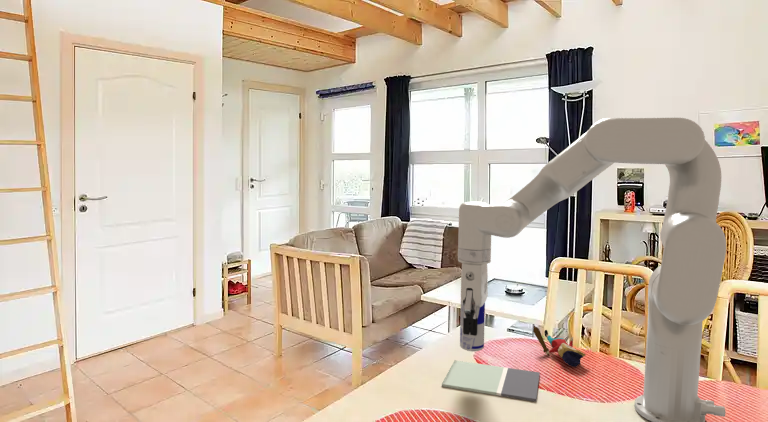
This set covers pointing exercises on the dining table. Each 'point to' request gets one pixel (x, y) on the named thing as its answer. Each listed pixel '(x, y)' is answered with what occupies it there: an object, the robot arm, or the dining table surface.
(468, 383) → the mat
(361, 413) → the dining table surface
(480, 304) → the robot arm
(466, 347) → the beverage can
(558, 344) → the toy
